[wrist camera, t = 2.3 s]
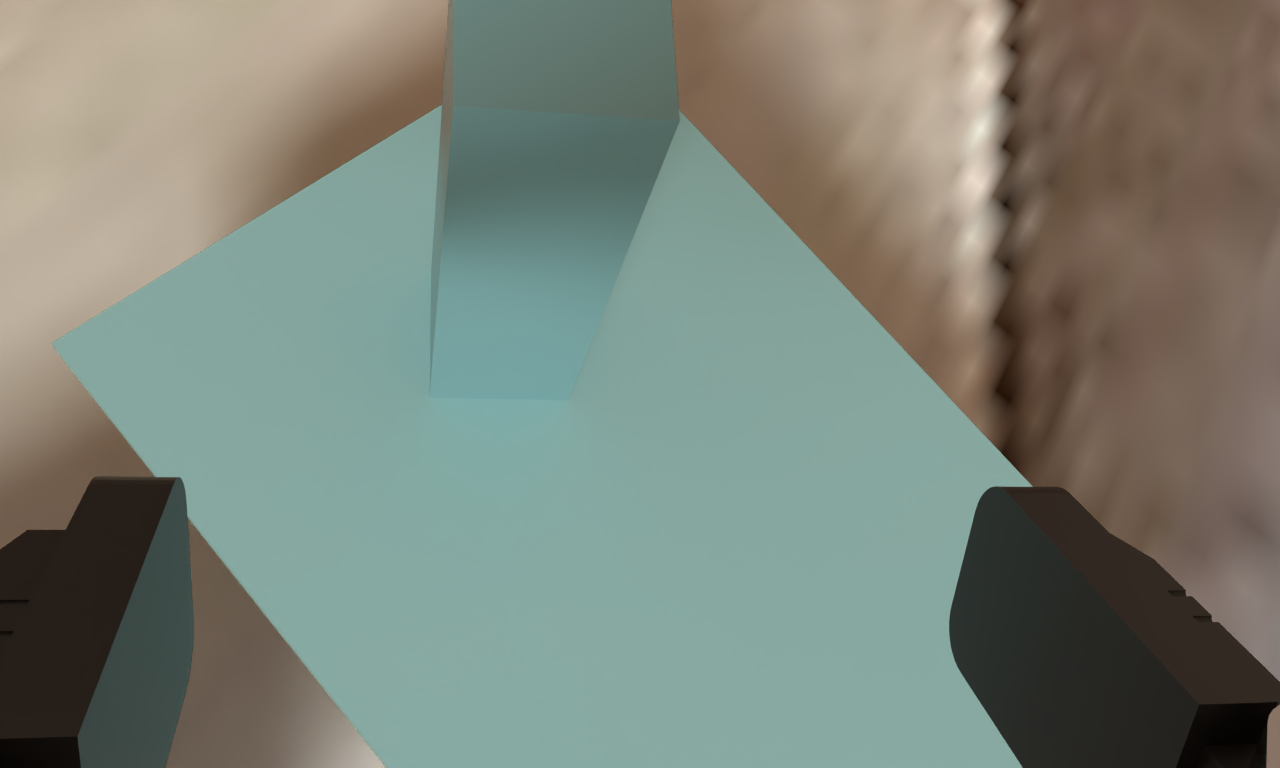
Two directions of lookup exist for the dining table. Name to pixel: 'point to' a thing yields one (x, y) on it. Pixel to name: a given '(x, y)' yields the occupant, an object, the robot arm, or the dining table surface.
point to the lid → (565, 436)
